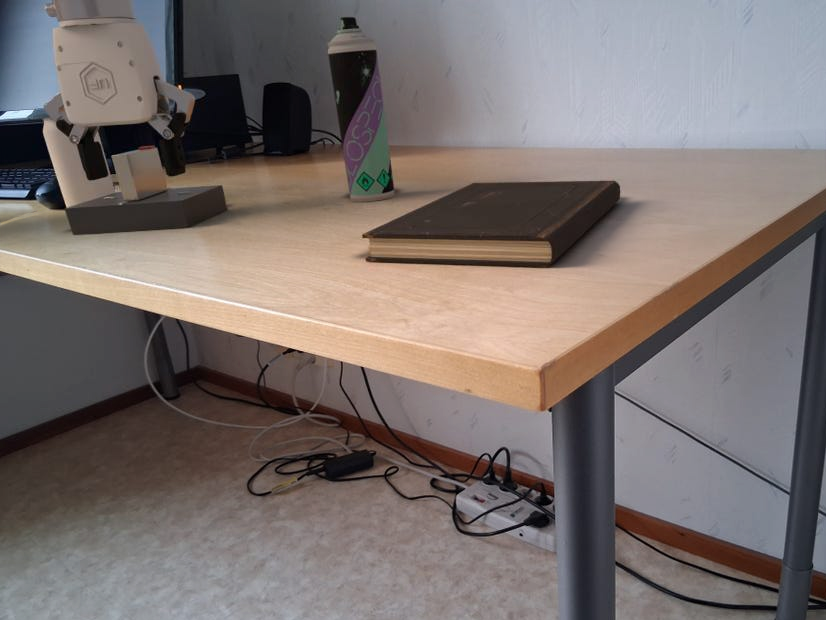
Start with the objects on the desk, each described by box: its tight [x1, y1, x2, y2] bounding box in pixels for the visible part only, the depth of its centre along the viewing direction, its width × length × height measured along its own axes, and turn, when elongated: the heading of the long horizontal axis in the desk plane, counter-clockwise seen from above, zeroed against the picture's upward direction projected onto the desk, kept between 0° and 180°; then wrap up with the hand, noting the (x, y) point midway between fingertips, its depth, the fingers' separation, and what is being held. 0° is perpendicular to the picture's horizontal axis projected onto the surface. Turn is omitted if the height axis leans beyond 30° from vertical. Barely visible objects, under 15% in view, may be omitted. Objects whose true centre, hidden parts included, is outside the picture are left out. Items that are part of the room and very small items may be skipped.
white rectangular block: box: [111, 145, 168, 201], centre depth 80 cm, size 6×2×5 cm, turn 174°
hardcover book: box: [361, 180, 621, 268], centre depth 63 cm, size 16×23×2 cm
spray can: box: [327, 16, 396, 203], centre depth 82 cm, size 6×6×20 cm
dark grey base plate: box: [64, 184, 228, 236], centre depth 82 cm, size 14×11×3 cm
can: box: [42, 117, 116, 208], centre depth 95 cm, size 6×6×12 cm
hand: (137, 176), depth 80 cm, fingers open, 9 cm apart
